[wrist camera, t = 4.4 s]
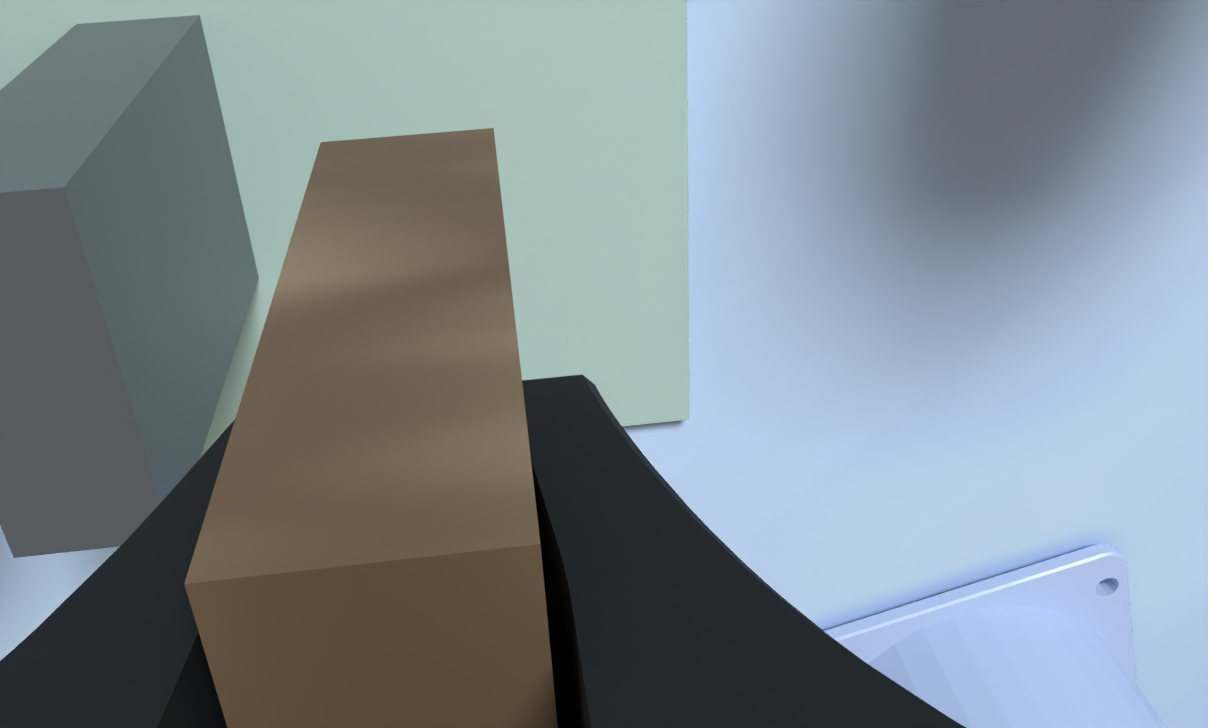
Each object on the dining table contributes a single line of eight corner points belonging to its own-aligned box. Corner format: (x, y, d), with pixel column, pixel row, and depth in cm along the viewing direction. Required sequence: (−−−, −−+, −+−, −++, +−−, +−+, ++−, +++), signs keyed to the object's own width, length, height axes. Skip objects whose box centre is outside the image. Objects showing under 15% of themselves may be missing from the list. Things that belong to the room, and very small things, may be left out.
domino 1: (199, 14, 17) (63, 186, 11) (259, 278, 19) (172, 540, 13) (76, 24, 17) (-130, 204, 11) (150, 287, 19) (13, 558, 13)
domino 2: (492, 127, 12) (540, 544, 6) (526, 470, 14) (585, 1030, 8) (320, 142, 12) (185, 584, 6) (382, 485, 14) (330, 1069, 8)
